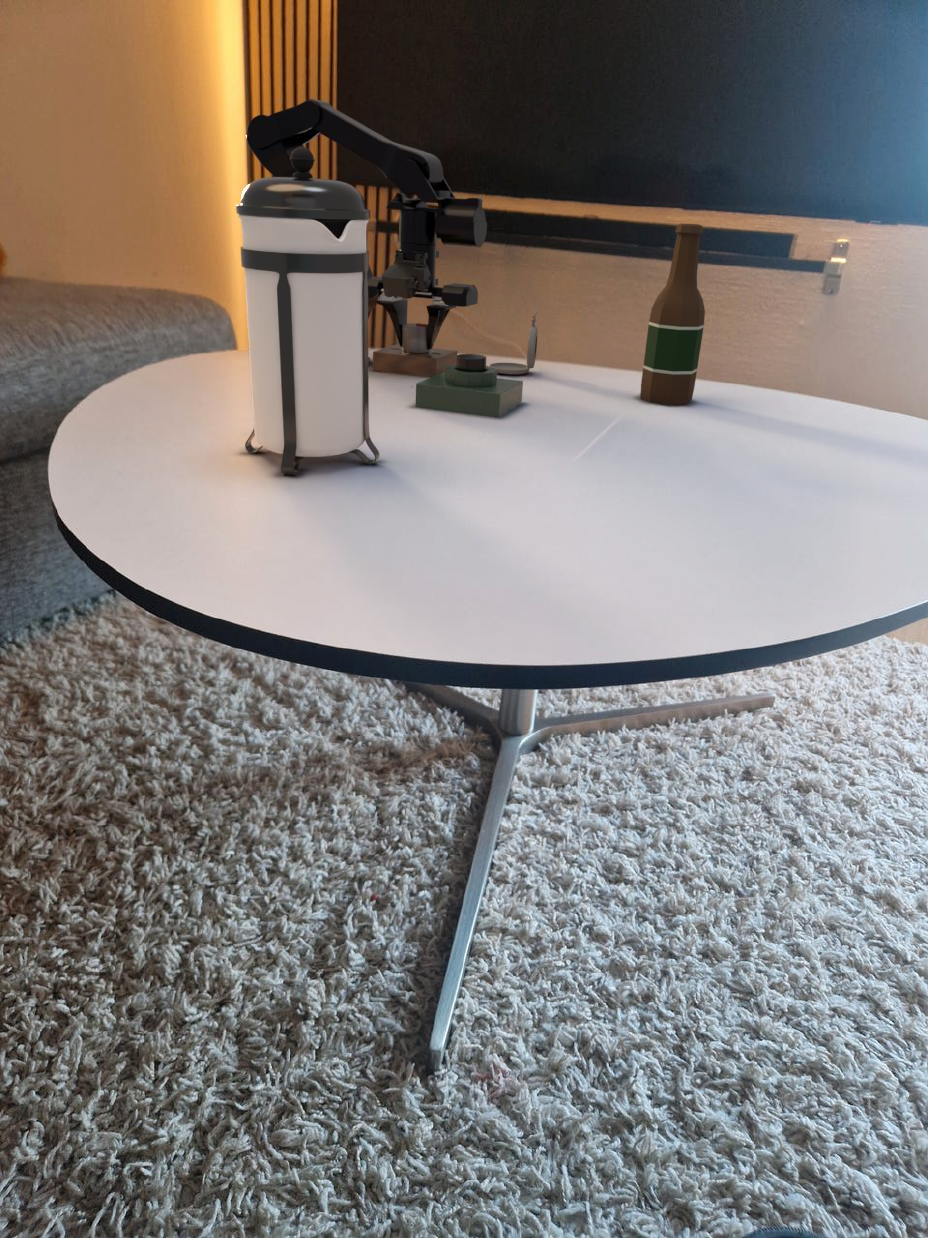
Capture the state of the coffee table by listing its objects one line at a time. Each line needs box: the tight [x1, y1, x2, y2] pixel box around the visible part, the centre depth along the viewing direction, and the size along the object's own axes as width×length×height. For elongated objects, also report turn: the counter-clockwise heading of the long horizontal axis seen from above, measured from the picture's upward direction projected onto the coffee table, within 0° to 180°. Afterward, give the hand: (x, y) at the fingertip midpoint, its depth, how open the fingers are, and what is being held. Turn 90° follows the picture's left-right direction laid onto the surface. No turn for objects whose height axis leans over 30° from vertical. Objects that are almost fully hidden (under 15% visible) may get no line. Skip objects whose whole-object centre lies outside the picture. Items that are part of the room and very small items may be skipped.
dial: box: [402, 322, 430, 353], centre depth 144 cm, size 4×4×4 cm
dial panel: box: [372, 343, 458, 378], centre depth 146 cm, size 11×9×3 cm
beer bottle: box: [639, 223, 706, 406], centre depth 128 cm, size 8×8×24 cm
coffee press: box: [235, 146, 381, 476], centre depth 92 cm, size 17×16×30 cm
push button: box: [456, 353, 487, 372], centre depth 122 cm, size 4×4×2 cm
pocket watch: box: [488, 310, 538, 376], centre depth 145 cm, size 8×8×10 cm
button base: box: [415, 365, 524, 419], centre depth 123 cm, size 12×10×5 cm
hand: (415, 347), depth 145 cm, fingers closed on dial, 4 cm apart
